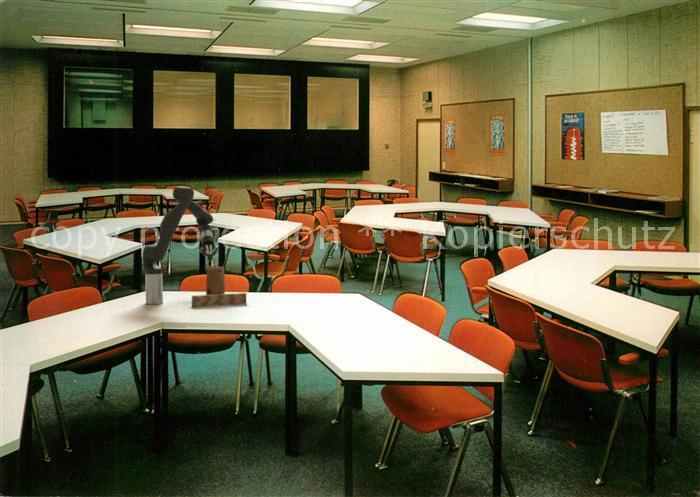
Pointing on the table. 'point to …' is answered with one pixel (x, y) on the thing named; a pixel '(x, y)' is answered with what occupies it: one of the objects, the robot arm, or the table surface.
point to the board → (218, 299)
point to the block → (215, 281)
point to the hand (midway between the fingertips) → (210, 260)
